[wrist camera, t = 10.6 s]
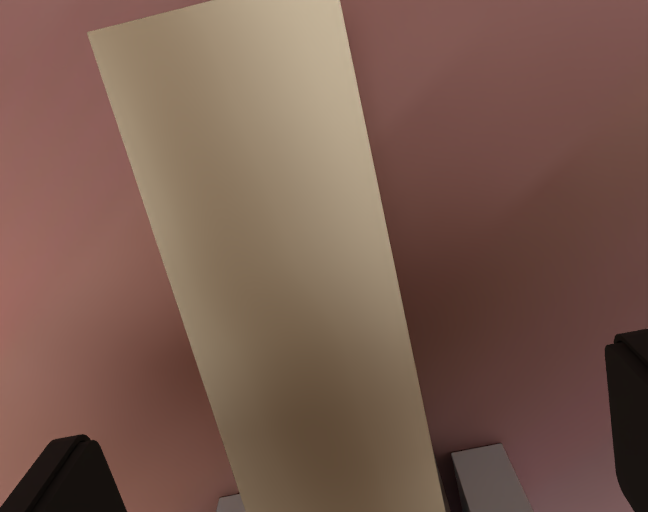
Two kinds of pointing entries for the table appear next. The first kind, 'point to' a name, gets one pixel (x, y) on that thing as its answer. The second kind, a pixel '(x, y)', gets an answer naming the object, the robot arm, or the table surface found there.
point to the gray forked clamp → (464, 483)
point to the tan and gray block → (276, 249)
